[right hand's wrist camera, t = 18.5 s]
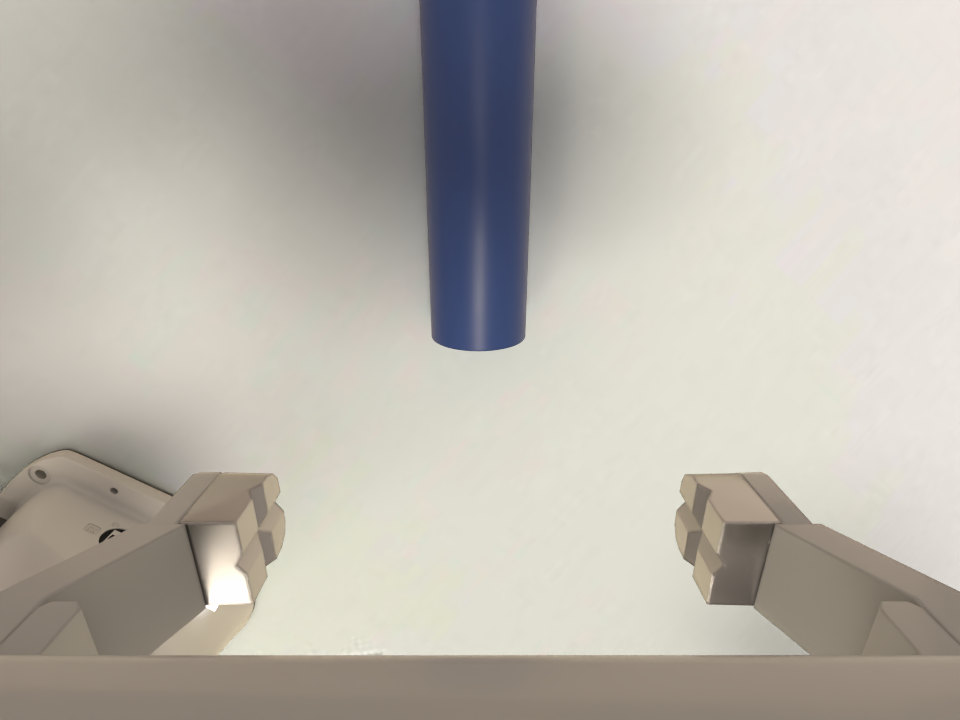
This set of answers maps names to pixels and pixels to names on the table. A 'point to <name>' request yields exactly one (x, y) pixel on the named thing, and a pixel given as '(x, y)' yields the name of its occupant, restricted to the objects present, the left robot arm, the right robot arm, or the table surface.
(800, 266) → the table surface
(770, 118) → the table surface
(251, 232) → the table surface
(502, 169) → the rod
